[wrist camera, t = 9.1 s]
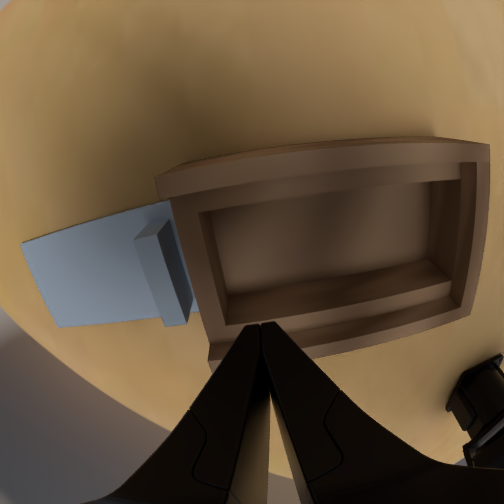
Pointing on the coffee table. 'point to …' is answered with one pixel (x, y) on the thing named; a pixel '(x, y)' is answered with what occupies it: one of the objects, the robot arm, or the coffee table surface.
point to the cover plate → (114, 269)
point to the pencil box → (333, 238)
